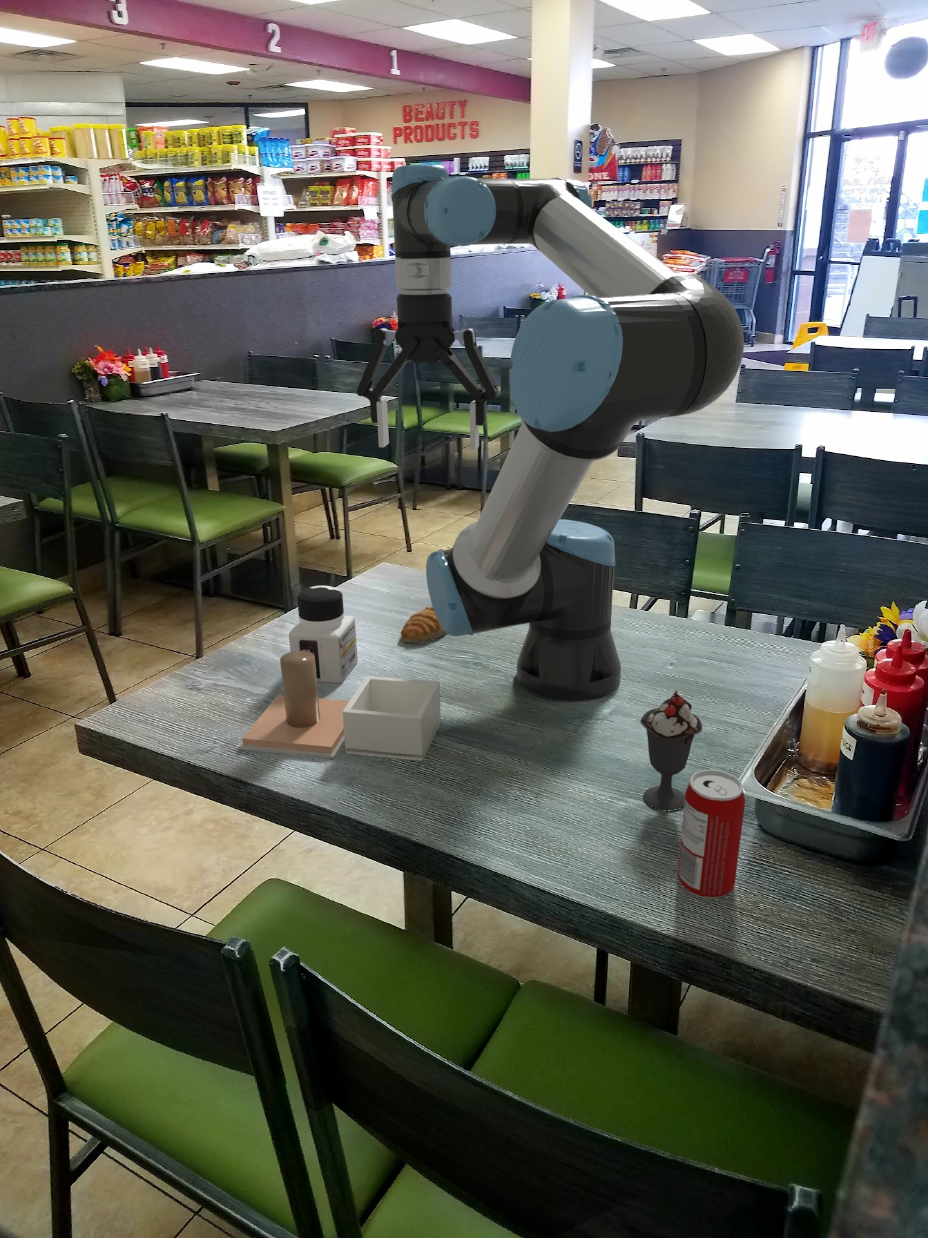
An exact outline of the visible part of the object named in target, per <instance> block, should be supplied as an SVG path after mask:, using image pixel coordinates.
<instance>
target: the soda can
mask: <svg viewBox="0 0 928 1238" xmlns="http://www.w3.org/2000/svg"><path fill="white" fill-rule="evenodd" d="M744 792H745V791H744V785H743V782H742V781H741V780H740V779H739V777H737V776H736V775H733V774H731V773H729V772H726V771H723V770H719V769H703V770H699V771H697V772H695V773H694V774H692V775H691V777H690V780H689V783H688V785H687V787H686V789H685V793H684V795H685V801H684V807H683V812H682V813H683V814H682V823H681V833H680V843H679V854H678V855H679V856H678V866H677V880H678V881H679V883H680V885H682V887H684V889H686V891H688V893H689V894H691V895H694V896H695V895H696V897H698V898H700V897H701V898H702V899H710V900H712V898H713V900H714V898H715V899H718V898H722V896H723V897H725V896H727V895H728V894H730V893H731V892H732V891H733V890H734V889H735V886H736V885H735V884H736V878H737V869H738V861H739V855H740V854H739V853H740V848H741V847H740V846H741V840H742V839H741V836H742V832H743V831H742V829H743V824H744V823H743V821H744V814H745V807H746V805H745V804H746V798H745V794H744Z"/></svg>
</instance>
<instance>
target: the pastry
mask: <svg viewBox="0 0 928 1238" xmlns="http://www.w3.org/2000/svg"><path fill="white" fill-rule="evenodd" d="M443 634H444V635H446V634H447V633H446V632H445V631H444V629H443V628H442V627H441V625H440V624H439V622H438V620H437V617H436V615H435V612H434V609H433V606H432V605H431V606H425V608H423V609H422V610H420V611H418V612H416V613H413V614H412V615H411V616H409V618H408V619H407V621H406V622H405V623H404V625H403V628H402V630H401V631H400V635H401V641H402V642H407V643H410V644H411V643H412V644H419V643H422V642H424V641H427V642H430V641H433V640H432V639H435V640H437V639H438V638H440V637H441V636H443ZM429 640H430V641H429ZM424 643H425V642H424ZM422 644H423V643H422Z"/></svg>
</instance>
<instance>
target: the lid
mask: <svg viewBox="0 0 928 1238" xmlns="http://www.w3.org/2000/svg"><path fill="white" fill-rule="evenodd" d="M279 662H280V671H281V681H282V690H283V694H277V696H276V697H275V698H274V699H273V700H272V701H271V703H270V704H269V706H268V707H267V708H266V709H265V710H264V712H263V713H262V714H261V715H260V716H259V717H258V718H257V720H256V721H255V722H254V723H253V724H252V726H251V727H250V728H249V729H248V730H247V732H246V733H245V734H244V735H243V736H242V738H241V741H242V742H243V745H247V746H257V747H267V748H277V749H288V750H298V751H308V752H318V753H329V754H332V753H333V752H334V750H335V748H336V747H337V745H338V744H339V742H340V741H341V739H342V737H343V736H344V724H343V710H344V709H345V707H346V706H347V704H348V703H349V701H350V700H341V699H330V698H319V691H318V689H319V688H318V682H317V676H316V665H315V656H314V654H313V653H311V652H308V651H293V652H287V653H284V654H283V655H282V656H281V657H280V658H279Z"/></svg>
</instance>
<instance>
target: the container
mask: <svg viewBox="0 0 928 1238" xmlns="http://www.w3.org/2000/svg"><path fill="white" fill-rule="evenodd" d="M343 595H344V594H343V592H342V591H341V590H340V589H339V588H337V587H334V586H330V585H315V586H310V587H307V588H305V589H303V590H302V591H300V592H299V593H298V595H297V596H296V599H297V600H296V602H297V611H298V613H297V614H298V620H299V621H298V622H297V624H295V626H294V627H293V628H292V629H291V630H290V631H289V633H288V640H289V641H288V643H289V648H290V649H289V651H290V652H293V651H308V652H311V653H313V654H314V656H315V665H316V676H317V683H330V684H343V683H344V681H345V680H346V678H347V677H348V676H349V674H350V673H351V672H352V670H353V669H354V667H355V666H356V664H357V663H358V658H359V657H358V645H357V631H356V618H355V616H353V615H345V613H344V612H345V611H344V597H343Z"/></svg>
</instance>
